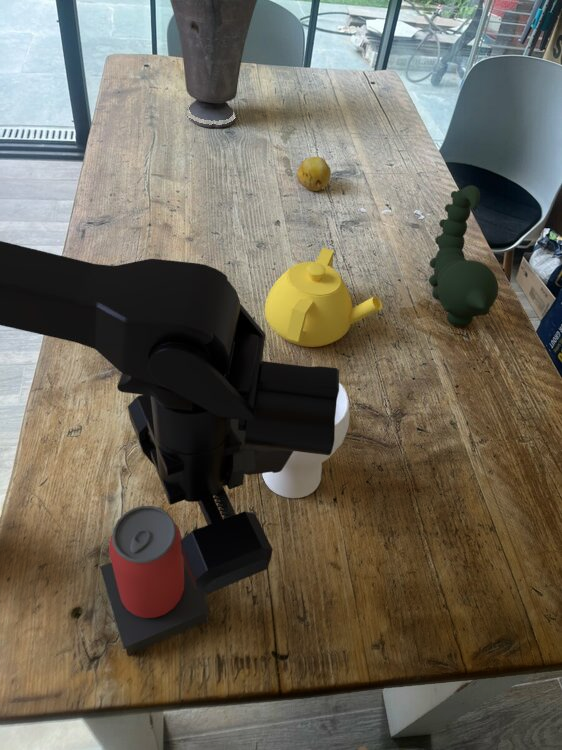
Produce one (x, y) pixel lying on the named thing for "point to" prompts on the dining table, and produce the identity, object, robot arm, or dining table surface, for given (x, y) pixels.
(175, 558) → the beer can
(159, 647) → the dining table surface
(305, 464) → the cup
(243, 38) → the vase
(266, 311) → the teapot
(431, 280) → the toy figurine
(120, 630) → the block
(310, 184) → the fruit
